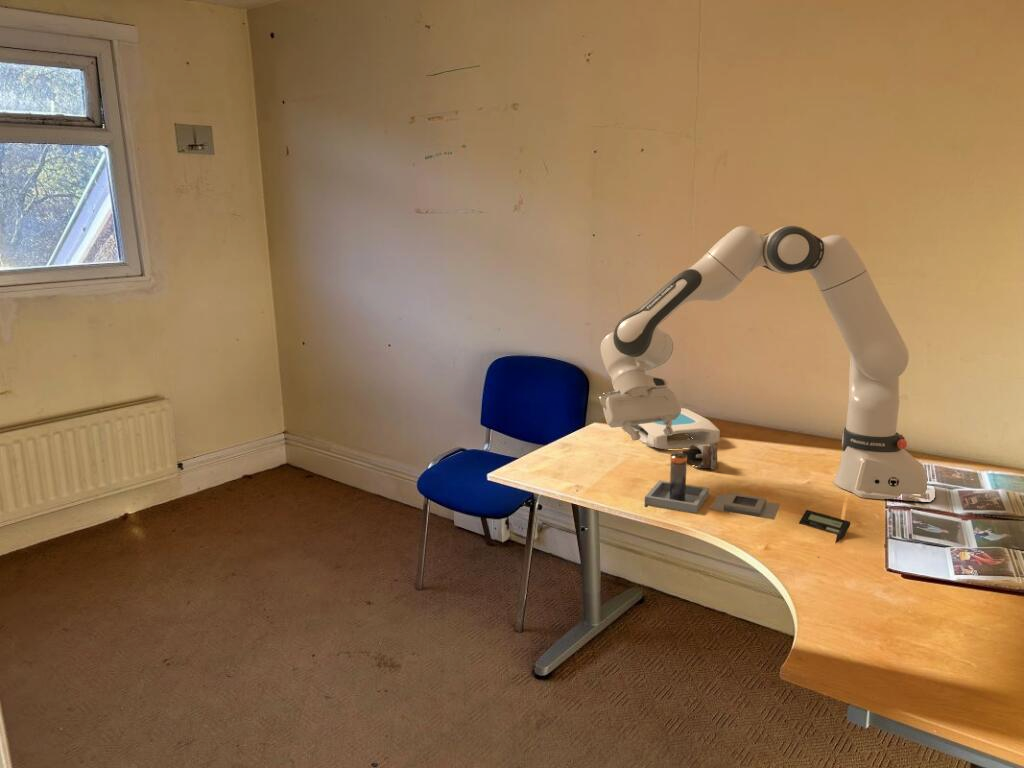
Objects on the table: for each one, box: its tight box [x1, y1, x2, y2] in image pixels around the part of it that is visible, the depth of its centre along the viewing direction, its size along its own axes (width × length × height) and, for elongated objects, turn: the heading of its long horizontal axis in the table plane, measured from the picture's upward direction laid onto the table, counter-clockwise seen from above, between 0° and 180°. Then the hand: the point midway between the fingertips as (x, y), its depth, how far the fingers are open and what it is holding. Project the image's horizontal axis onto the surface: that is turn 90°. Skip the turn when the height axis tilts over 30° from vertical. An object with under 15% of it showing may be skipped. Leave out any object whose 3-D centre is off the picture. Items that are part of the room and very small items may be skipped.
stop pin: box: [669, 452, 688, 501], centre depth 173 cm, size 4×4×11 cm
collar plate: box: [709, 492, 781, 520], centre depth 170 cm, size 14×10×2 cm
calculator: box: [798, 509, 851, 545], centre depth 156 cm, size 9×12×3 cm
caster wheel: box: [681, 442, 719, 470], centre depth 200 cm, size 7×11×10 cm
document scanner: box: [620, 407, 721, 451], centre depth 226 cm, size 21×28×6 cm
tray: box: [644, 480, 710, 514], centre depth 174 cm, size 12×12×2 cm
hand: (653, 437), depth 180 cm, fingers open, 8 cm apart
